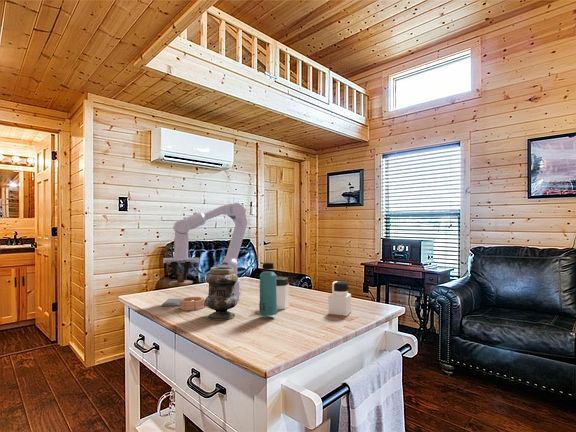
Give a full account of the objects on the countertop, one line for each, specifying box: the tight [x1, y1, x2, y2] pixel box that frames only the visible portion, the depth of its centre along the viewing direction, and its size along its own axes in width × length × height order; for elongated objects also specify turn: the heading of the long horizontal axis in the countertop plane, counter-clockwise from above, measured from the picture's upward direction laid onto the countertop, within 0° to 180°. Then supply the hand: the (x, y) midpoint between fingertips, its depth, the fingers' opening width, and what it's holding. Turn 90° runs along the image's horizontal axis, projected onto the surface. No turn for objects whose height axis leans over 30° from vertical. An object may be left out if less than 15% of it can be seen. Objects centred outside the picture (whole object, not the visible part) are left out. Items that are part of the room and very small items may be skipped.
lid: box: [168, 272, 194, 287], centre depth 141 cm, size 10×10×4 cm
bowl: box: [179, 296, 205, 312], centre depth 134 cm, size 9×9×4 cm
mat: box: [160, 298, 182, 308], centre depth 142 cm, size 12×12×1 cm
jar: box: [276, 275, 290, 310], centre depth 136 cm, size 9×8×12 cm
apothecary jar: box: [204, 266, 239, 321], centre depth 122 cm, size 12×12×18 cm
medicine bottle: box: [328, 280, 352, 317], centre depth 127 cm, size 7×7×12 cm
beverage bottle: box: [258, 262, 278, 317], centre depth 121 cm, size 6×7×20 cm
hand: (180, 279), depth 141 cm, fingers closed on lid, 3 cm apart
